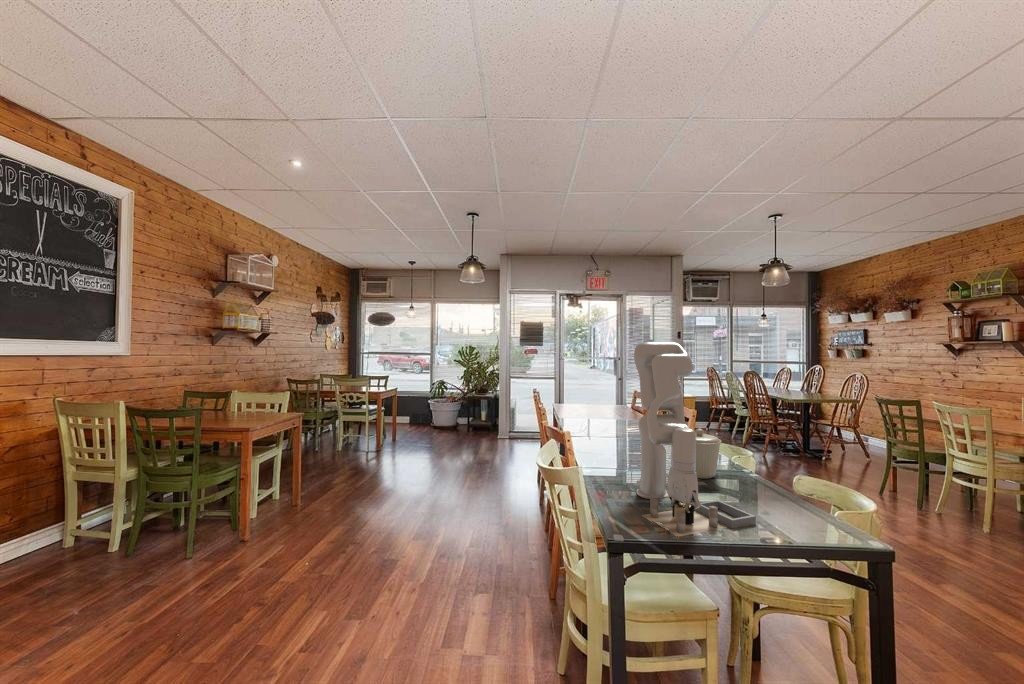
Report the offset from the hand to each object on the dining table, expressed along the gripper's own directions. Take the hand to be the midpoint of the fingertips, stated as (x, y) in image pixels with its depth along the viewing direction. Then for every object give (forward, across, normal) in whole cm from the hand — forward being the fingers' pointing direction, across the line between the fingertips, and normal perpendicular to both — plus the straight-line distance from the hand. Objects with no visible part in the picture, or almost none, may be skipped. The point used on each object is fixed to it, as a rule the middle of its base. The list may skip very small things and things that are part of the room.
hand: (682, 519), depth 153 cm
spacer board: (+1, 0, 0) cm, 1 cm away
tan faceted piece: (0, 0, 0) cm, 0 cm away
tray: (+1, +2, +16) cm, 16 cm away
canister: (+2, -41, +45) cm, 61 cm away
